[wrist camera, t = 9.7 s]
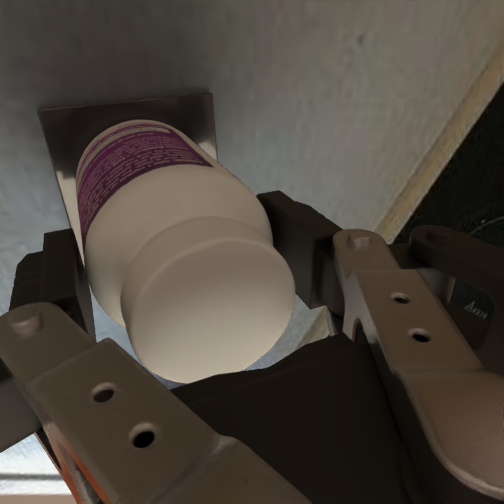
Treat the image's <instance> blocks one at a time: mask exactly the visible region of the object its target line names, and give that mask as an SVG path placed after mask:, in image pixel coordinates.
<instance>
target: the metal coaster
mask: <svg viewBox="0 0 504 504" xmlns="http://www.w3.org/2000/svg"><path fill="white" fill-rule="evenodd" d="M37 112H38V116H39V119H40V123H41V126H42V129H43V133H44V136H45V140H46V143H47V147H48V150H49V154H50V157H51V161H52V164H53V167H54V171H55V174H56V178H57V181H58V185H59V188H60V192H61V195H62V199H63V202H64V206H65V209H66V212H67V216H68V219H69V223H70V226H71V228H73V230H74V233H75V236H76V240H77V243H78V247H79V250H80V254H81V258H82V261H83V265H84V255H83V246H82V238H81V229H80V221H79V213H78V206H77V197H76V173H77V169H78V165H79V162H80V159H81V157H82V155H83V153H84V151H85V149H86V148H87V147H88V145H89V144H90V143H91V142H92V141H93V139H94V138H95V137H97V136H98V135H99V134H101V133H102V132H103V131H105V130H107V129H108V128H110V127H112V126H115V125H117V124H120V123H122V122H126V121H131V120H152V121H158V122H161V123H164V124H167V125H169V126H172V127H173V128H175V129H177V130H179V131H180V132H182V133H183V134H184V135H186V136H187V137H188V138H189V139H190V140H192V141H193V142H194V143H195V144H197V145H198V146H199V147H200V148H202V149H203V150H204V151H205V152H206V153H207V154H209V155H210V156H211V157H212V158H213V159H215V160H216V161H217V162H218V160H217V147H216V134H215V121H214V108H213V94H212V93H210V92H206V93H195V94H185V95H174V96H163V97H153V98H142V99H131V100H121V101H110V102H99V103H89V104H78V105H67V106H57V107H46V108H38V110H37Z"/></svg>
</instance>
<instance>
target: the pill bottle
mask: <svg viewBox="0 0 504 504" xmlns="http://www.w3.org/2000/svg"><path fill="white" fill-rule="evenodd" d="M76 197H77V206H78V213H79V221H80V229H81V238H82V246H83V255H84V265H85V271H86V276H87V279H88V282H89V285H90V287H91V290H92V292H93V294H94V296H95V298H96V300H97V301H98V303H99V304H100V306H101V307H102V308H103V310H104V311H105V312H106V313H107V314H108V315H109V316H110V317H111V318H112V319H113V320H114V321H116V322H117V323H118V324H120V325H121V326H123V327H124V328H126V330H127V333H128V336H129V339H130V342H131V345H132V347H133V350H134V352H135V354H136V355H137V357H138V359H139V360H140V361H141V362H142V363H143V365H144V366H145V367H146V368H148V369H149V370H150V371H151V372H153V373H154V374H156V375H158V376H161V377H163V378H165V379H167V380H171V381H175V382H179V383H192V382H195V381H198V380H201V379H204V378H207V377H210V376H213V375H216V374H224V373H232V372H239V371H241V370H243V369H245V368H247V367H248V366H250V365H251V364H253V363H254V362H256V361H257V360H258V359H259V358H261V357H262V356H263V355H264V354H265V353H267V352H268V350H269V349H270V348H271V347H272V346H273V345H274V344H275V343H276V341H277V340H278V339H279V338H280V336H281V335H282V334H283V332H284V331H285V329H286V327H287V325H288V323H289V321H290V318H291V315H292V312H293V309H294V303H295V282H294V278H293V275H292V272H291V270H290V268H289V266H288V264H287V262H286V261H285V259H284V258H283V257H282V256H281V255H280V254H279V253H278V251H277V250H276V249H275V248H274V247H273V236H272V230H271V226H270V222H269V219H268V217H267V214H266V212H265V210H264V208H263V206H262V205H261V203H260V202H259V200H258V199H257V197H256V196H255V195H254V194H253V193H252V191H251V190H250V189H249V188H248V187H247V186H246V185H245V184H244V183H243V182H242V181H240V180H239V179H238V178H237V177H235V176H234V175H233V174H232V173H230V172H229V171H228V170H227V169H226V168H224V167H223V166H222V165H221V164H220V163H218V162H217V161H216V160H215V159H213V158H212V157H211V156H210V155H209V154H207V153H206V152H205V151H204V150H203V149H202V148H200V147H199V146H198V145H197V144H195V143H194V142H193V141H192V140H190V139H189V138H188V137H187V136H186V135H184V134H183V133H182V132H180V131H179V130H177V129H175V128H173V127H172V126H169V125H167V124H164V123H161V122H158V121H152V120H131V121H126V122H122V123H120V124H117V125H115V126H112V127H110V128H108V129H107V130H105V131H103V132H102V133H101V134H99V135H98V136H97V137H95V138H94V139H93V141H92V142H91V143H90V144H89V145H88V147H87V148H86V149H85V151H84V153H83V155H82V157H81V159H80V162H79V165H78V169H77V173H76Z"/></svg>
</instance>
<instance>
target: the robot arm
mask: <svg viewBox="0 0 504 504" xmlns="http://www.w3.org/2000/svg"><path fill="white" fill-rule="evenodd" d="M256 197H257V199H258V200H259V202H260V203H261V205H262V206H263V208H264V210H265V212H266V214H267V217H268V219H269V222H270V226H271V230H272V236H273V247H274V248H275V249H276V250H277V251H278V253H279V254H280V255H281V256H282V257H283V258H284V259H285V261H286V262H287V264H288V266H289V268H290V270H291V272H292V275H293V278H294V282H295V293H296V294H297V295H298V296H299V297H300V299H301V300H302V301H303V302H304V303H305V304H306V305H307V306H308V308H309V309H314V308H317V307H320V306H324V305H326V306H327V313H326V320H327V325H328V329H329V333H330V337H327V338H324V339H321V340H318V341H315V342H312V343H309V344H306V345H304V346H303V347H301V348H300V349H298V350H296V351H295V352H293V353H291V354H290V355H288V356H287V357H285V358H283V359H282V360H280V361H279V362H277V363H275V364H274V365H272V366H270V367H268V368H263V369H256V370H248V371H240V372H232V373H224V374H216V375H213V376H210V377H207V378H204V379H201V380H198V381H195V382H192V383H189V384H186V385H183V386H180V387H177V388H174V389H171V390H168V389H167V388H166V387H165V386H164V385H163V384H162V383H161V382H159V381H158V380H157V379H156V378H155V377H154V376H153V375H152V374H151V373H149V372H148V371H147V370H146V369H145V368H144V367H143V366H142V365H141V364H139V363H138V362H137V361H136V360H135V359H134V358H133V357H132V356H130V355H129V354H128V353H127V352H126V351H125V350H124V349H123V348H122V347H120V346H119V345H118V344H117V343H116V342H115V341H114V340H112V339H110V338H105V339H103V340H102V341H100V342H98V343H97V342H96V335H95V326H94V318H93V309H92V301H91V293H90V288H89V283H88V279H87V276H86V272H85V268H84V265H83V261H82V258H81V254H80V250H79V247H78V243H77V240H76V236H75V233H74V230H73V228H70V229H65V230H59V231H54V232H48V233H44V243H43V251H40V252H35V253H30V254H27V255H26V256H25V257H24V258H23V259H22V260H21V261H20V262H19V264H18V265H17V269H16V274H15V276H16V278H15V280H14V287H13V291H12V296H11V302H10V307H9V311H8V312H7V313H5V314H3V315H2V316H0V453H1V452H3V451H4V450H6V449H8V448H9V447H11V446H13V445H14V444H16V443H18V442H20V441H21V440H23V439H25V438H26V437H28V436H30V435H31V434H33V433H34V435H35V436H36V438H37V439H38V441H39V443H40V444H41V446H42V447H43V449H44V450H45V452H46V453H47V455H48V456H49V458H50V459H51V461H52V463H53V464H54V466H55V467H56V469H57V470H58V472H59V473H60V475H61V476H62V478H63V480H64V481H65V483H66V484H67V486H68V488H69V489H70V491H71V493H72V495H73V496H74V498H75V500H76V502H77V504H504V249H501V248H499V247H496V246H493V245H491V244H488V243H486V242H483V241H481V240H478V239H476V238H473V237H471V236H468V235H466V234H463V233H460V232H458V231H455V230H453V229H450V228H447V227H442V226H436V225H424V226H419V227H416V228H414V229H413V230H412V231H411V235H410V241H409V243H408V244H388V245H387V244H386V242H385V241H384V239H383V238H382V237H381V236H380V235H378V234H376V233H374V232H371V231H368V230H363V229H346V230H343V229H342V228H340V227H339V226H337V225H336V224H335V223H333V222H332V221H330V220H329V219H327V218H325V216H323V215H322V214H320V213H318V212H317V211H316V210H315V209H313V208H312V207H310V206H309V205H306V204H303V203H300V202H297V201H294V200H292V199H291V198H289V197H288V196H287V195H285V194H284V193H283V192H281V191H279V190H278V191H272V192H267V193H262V194H258V195H257V196H256ZM455 279H458V280H460V281H462V282H464V283H466V284H468V285H470V286H472V287H474V288H476V289H478V290H480V291H482V292H484V293H486V294H487V295H488V296H489V297H490V298H491V299H492V301H493V303H494V306H495V311H494V314H493V317H492V320H491V323H489V322H487V321H485V320H483V319H481V318H479V317H478V316H476V315H474V314H472V313H470V312H468V311H467V310H465V309H463V308H461V307H459V306H457V305H455V304H454V303H452V302H450V297H451V294H452V290H453V286H454V283H455Z"/></svg>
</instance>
